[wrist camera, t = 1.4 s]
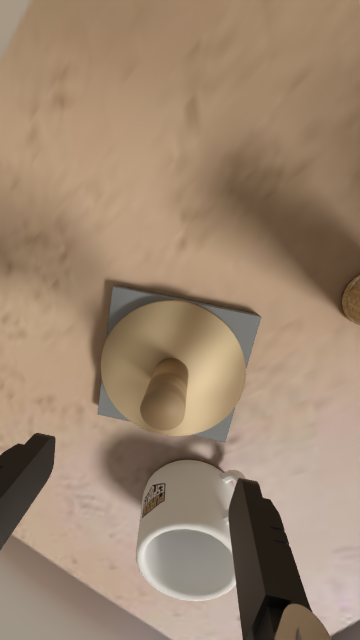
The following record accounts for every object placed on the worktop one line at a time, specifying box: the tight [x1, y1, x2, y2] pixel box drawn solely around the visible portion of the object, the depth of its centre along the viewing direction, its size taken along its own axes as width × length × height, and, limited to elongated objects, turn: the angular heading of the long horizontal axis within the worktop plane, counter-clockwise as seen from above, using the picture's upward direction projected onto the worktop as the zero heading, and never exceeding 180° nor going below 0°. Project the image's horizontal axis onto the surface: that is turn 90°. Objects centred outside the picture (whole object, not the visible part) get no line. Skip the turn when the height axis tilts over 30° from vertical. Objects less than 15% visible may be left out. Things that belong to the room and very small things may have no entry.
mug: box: [136, 460, 245, 601], centre depth 22 cm, size 12×10×6 cm
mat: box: [98, 286, 261, 442], centre depth 21 cm, size 12×12×1 cm
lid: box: [101, 300, 246, 436], centre depth 17 cm, size 12×12×6 cm
